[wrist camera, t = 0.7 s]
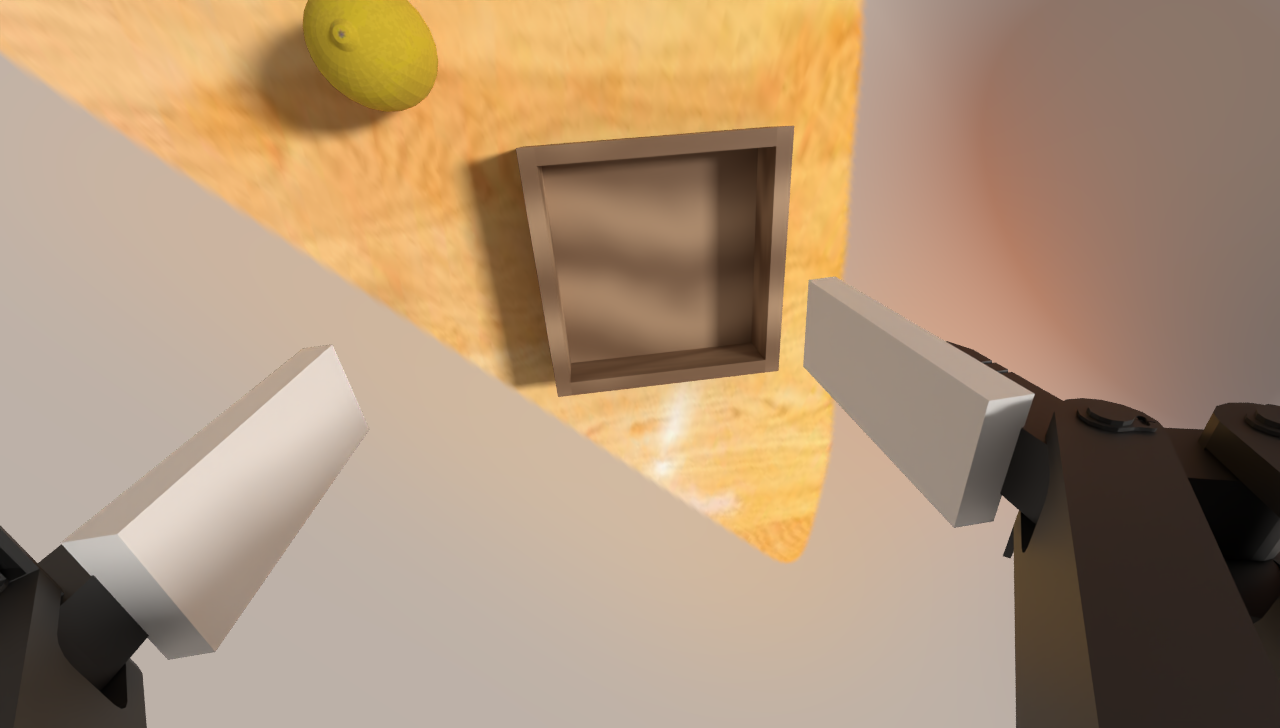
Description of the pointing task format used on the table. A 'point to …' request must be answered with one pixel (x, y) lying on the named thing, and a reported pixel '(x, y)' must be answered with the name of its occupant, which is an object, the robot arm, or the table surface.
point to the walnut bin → (660, 255)
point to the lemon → (372, 50)
